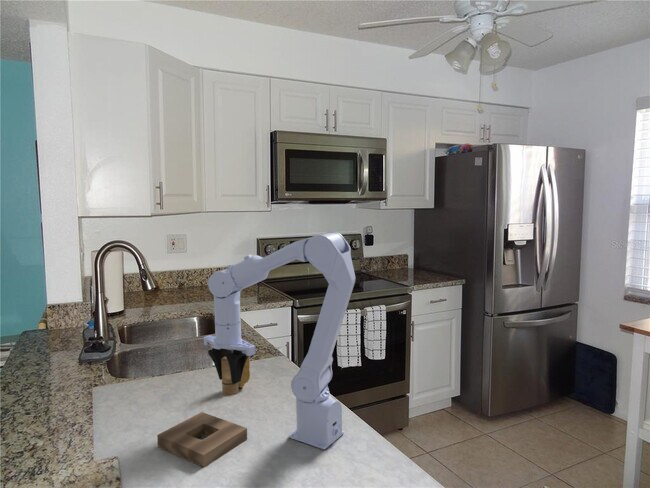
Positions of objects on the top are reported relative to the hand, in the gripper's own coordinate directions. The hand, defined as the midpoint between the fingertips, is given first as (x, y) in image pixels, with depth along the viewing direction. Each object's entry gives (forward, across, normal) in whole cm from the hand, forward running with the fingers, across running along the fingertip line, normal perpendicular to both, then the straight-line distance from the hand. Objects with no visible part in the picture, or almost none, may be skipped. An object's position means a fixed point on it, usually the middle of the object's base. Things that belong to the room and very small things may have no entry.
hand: (230, 380), depth 104 cm
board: (+10, +2, -10) cm, 14 cm away
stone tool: (+10, -12, +15) cm, 21 cm away
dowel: (+3, 0, 0) cm, 3 cm away
